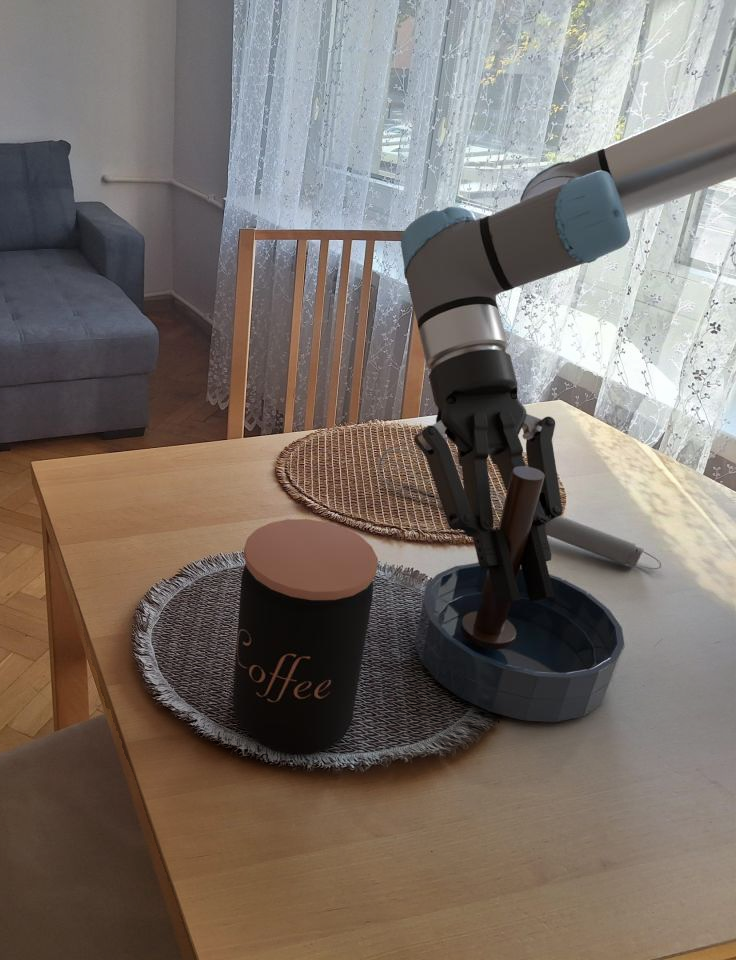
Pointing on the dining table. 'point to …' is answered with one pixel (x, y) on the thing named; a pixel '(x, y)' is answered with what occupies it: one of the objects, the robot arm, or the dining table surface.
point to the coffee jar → (301, 633)
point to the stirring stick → (516, 522)
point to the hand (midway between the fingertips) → (525, 600)
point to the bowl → (521, 648)
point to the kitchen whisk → (558, 528)
